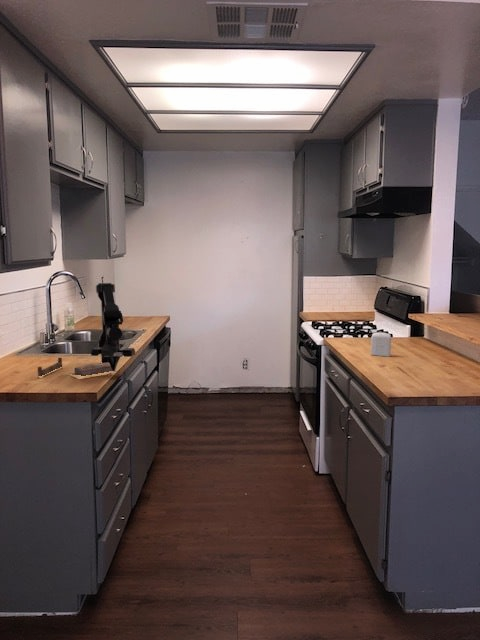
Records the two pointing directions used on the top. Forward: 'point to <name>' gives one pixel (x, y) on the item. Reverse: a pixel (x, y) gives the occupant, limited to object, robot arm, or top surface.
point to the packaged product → (92, 369)
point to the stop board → (50, 368)
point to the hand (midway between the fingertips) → (113, 370)
